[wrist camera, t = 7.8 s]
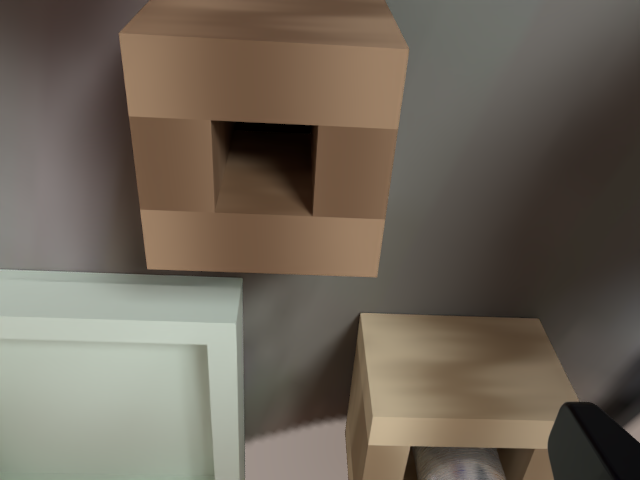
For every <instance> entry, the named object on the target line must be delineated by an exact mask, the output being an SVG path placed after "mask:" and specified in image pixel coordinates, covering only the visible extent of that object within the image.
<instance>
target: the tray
mask: <svg viewBox="0 0 640 480" xmlns="http://www.w3.org/2000/svg"><path fill="white" fill-rule="evenodd" d="M0 480H245V438H244V359H243V279H242V278H233V277H205V276H176V275H147V274H118V273H89V272H61V271H32V270H3V269H0Z"/></svg>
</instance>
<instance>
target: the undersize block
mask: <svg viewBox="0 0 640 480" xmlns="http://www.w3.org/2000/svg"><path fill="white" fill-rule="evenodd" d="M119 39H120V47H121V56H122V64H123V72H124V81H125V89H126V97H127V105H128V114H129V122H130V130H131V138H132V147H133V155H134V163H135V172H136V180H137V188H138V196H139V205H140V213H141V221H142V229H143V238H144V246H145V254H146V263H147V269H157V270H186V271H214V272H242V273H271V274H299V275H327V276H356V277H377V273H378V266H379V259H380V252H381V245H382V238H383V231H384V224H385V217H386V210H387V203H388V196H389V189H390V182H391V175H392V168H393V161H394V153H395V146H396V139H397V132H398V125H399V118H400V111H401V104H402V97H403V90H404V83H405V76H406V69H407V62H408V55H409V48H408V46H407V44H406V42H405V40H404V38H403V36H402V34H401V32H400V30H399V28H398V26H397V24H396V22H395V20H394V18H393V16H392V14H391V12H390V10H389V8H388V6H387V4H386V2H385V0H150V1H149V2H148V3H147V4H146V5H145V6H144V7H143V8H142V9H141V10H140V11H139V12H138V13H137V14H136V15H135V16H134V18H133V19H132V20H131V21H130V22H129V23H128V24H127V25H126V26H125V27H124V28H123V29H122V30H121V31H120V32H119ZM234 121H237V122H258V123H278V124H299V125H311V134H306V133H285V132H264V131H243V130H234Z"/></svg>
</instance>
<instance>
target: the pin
mask: <svg viewBox="0 0 640 480" xmlns="http://www.w3.org/2000/svg"><path fill="white" fill-rule="evenodd" d="M412 450H413V455H414V461H415V467H416V472H417V478H418V480H506V477H505V474H504V471H503V468H502V465H501V462H500V458H499V455H498V452H497V449H496V448H479V447H430V446H412Z"/></svg>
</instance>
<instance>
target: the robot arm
mask: <svg viewBox="0 0 640 480" xmlns="http://www.w3.org/2000/svg"><path fill="white" fill-rule="evenodd" d="M547 448H548V456H549V460H550V465H551V469H552V473H553V478H554V480H640V443H639V442H638V441H637V440H636V439H635V438H633V437H632V436H631V435H630V434H629V433H628V432H627V431H625V430H624V429H623V428H622V427H621V426H620V425H619V424H618V423H616V422H615V421H614V420H613V419H612V418H611V417H610V416H608V415H607V414H606V413H605V412H604V411H603V410H602V409H601V408H599V407H598V406H597V405H595V404H593V403H591V402H565V403H564V404H563V405H561V407H560V409H559V412H558V414H557V417H556V419H555V422H554V424H553V427H552V430H551V432H550V435H549V438H548V447H547Z"/></svg>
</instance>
